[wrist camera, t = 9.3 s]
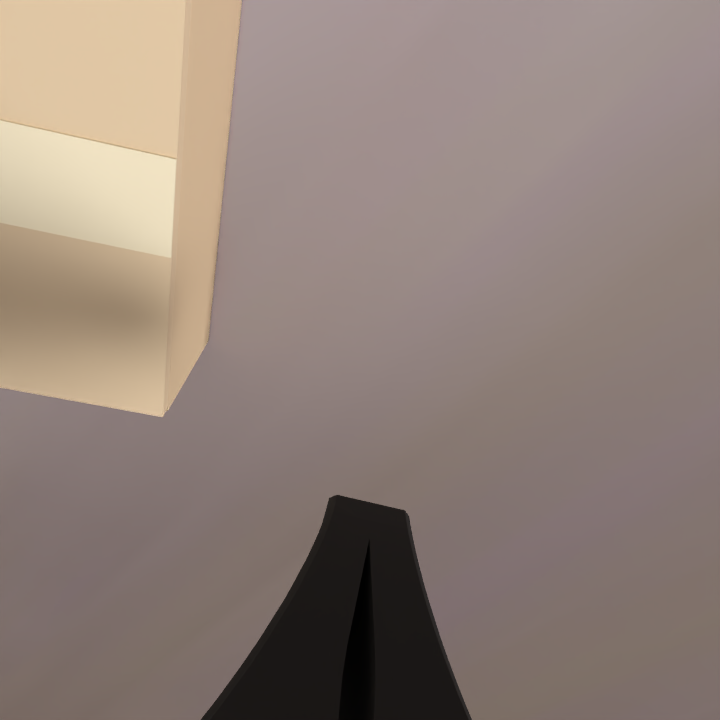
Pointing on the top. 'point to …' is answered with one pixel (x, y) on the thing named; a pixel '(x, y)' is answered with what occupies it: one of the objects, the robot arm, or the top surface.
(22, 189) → the lid
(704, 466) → the top surface
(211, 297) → the carton
